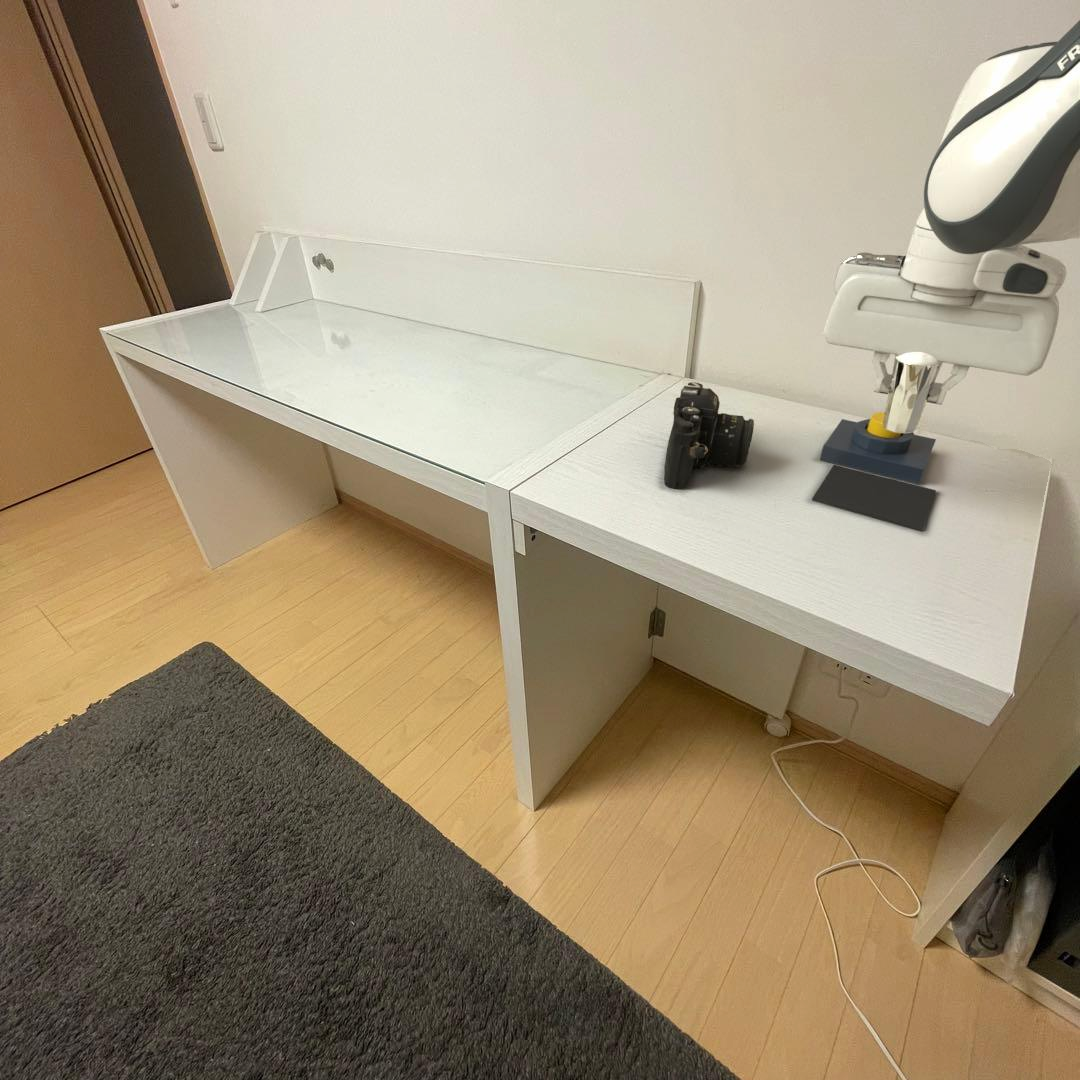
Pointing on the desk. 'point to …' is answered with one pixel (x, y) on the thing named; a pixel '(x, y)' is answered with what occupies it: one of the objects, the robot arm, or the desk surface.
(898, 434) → the cylinder
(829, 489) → the mat
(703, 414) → the film camera
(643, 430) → the desk surface
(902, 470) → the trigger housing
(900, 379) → the milkshake
